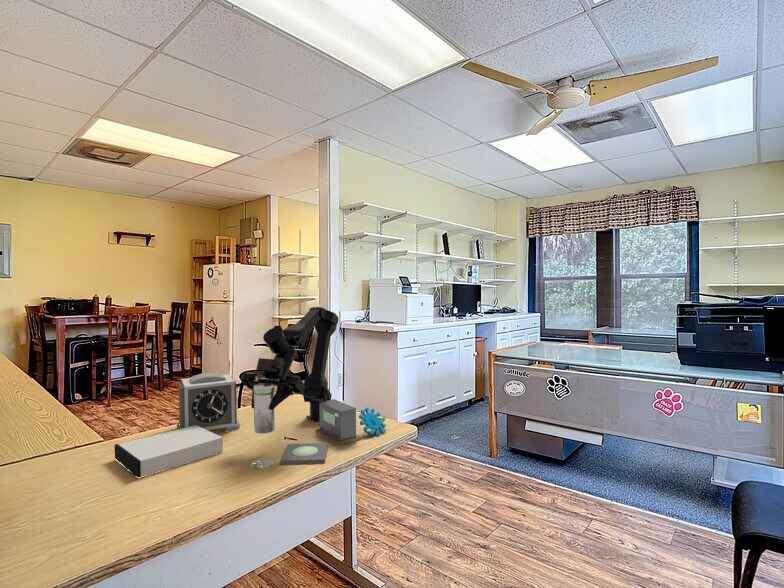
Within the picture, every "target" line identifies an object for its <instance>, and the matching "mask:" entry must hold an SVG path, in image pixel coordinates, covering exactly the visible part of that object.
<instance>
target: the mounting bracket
mask: <svg viewBox="0 0 784 588" xmlns="http://www.w3.org/2000/svg"><path fill="white" fill-rule="evenodd" d="M256 460H257V461H255V460H254V461H255V462H254V463H256V464H250V466H249V468H250V469H252V470H253V468H254V469H261V468H260V466H261V465H262V466H261V467H263V468H264V467H266V468H268V467H270V466H272V465H275V464H276V462H275V461H273V460H270V459H267V458H264V457H260V458H258V459H256ZM258 461H260V462H258ZM260 463H261V464H260ZM255 465H258V466H255ZM263 468H262V470H264V469H265V468H264V469H263Z"/></svg>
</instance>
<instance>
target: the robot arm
mask: <svg viewBox="0 0 784 588" xmlns="http://www.w3.org/2000/svg"><path fill="white" fill-rule="evenodd" d="M338 324H339V316H338V315H337V314H336V312H333V311H330V310H327V309H326V308H325V307H323V306H311V307H310V308H309V310H308V312H307V313H305V314H304V316H302V317H301V319H299V321H297V322H296V323H295V324H293V325H292V324H291V325H289V326H287V327H285V328H284V329H283V327H282V325H274V326H273V328H269V330H267V331H266V332H265V333H264V334H263V337H262V339H263V341H264V342H265V344H266V346H267V347H268V348H269V350H270V351H271V352H272V354H274V357H273V358H261V357H260V358H258V359H257V365H256V368H255V370H257V371H260V372H261V375H262V376H264V377H260V376H259V375H258V373H256V372H244V373H243V374H242V376H241V378H240V380H241V382H242V383H243V384H244V385H245V386H246V388H247V389H249V390H251V391H252V393H251V406H250V407H251V408H252V409H254V389H253V388H254V385H255V384H259V383H273V384H274V387H276V392H274V398H273V400H272V402H271V405H270V410H273V409H274V410H275V408H277V406H279V405H280V404H281V403H282V402H284V401H285V400H286V399H287V398H288V397H291V396H293V395H294V394H302V396H303V402H304V403H309V415H306V416H305V417H306V419H307V420H310V421H312V422H320V402H323V401H328V400H332V393H331V391H330V390H329V388H328V386H329V385H328V384H329V383H328V381H327V378H326V376H325V374H326V370H327V369H326V368H327V363H328V362H327V361H328V356H329V350H330V349H329V348H330V341H331V337H332V336H333V334H334V333H335V332H336V330H337V327H338ZM313 328H314V329H315V331H316V334H317V337H316V342H315V349H314V352H313V353H314V354H313V359H312V360H313V361H312V365H311V366H312V367H311V371H310V374H309V375H308V376H305V377H304V382H303V380H302V379H301V377H300V376H299V375H291V373H292V370H291V367H292V365H293V362H294V360H298V359H299V355H298V351H297V350H296V349H295V347H296V348H302V347H304V345H305V343H306V342H307V340H308V333H310V331H312V330H313Z"/></svg>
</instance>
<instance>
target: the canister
mask: <svg viewBox="0 0 784 588" xmlns="http://www.w3.org/2000/svg"><path fill="white" fill-rule="evenodd" d="M253 389H254V408H253V424H254V425H253V426H254V427H253V430H254V433H255V434H269V433H272V432H274V431H275V425H276V424H275V408H274V409H273V410H270V405H271V402H272V400H273V398H274V395H275V386H274V384H273V383H259V384H255V385H254V388H253Z"/></svg>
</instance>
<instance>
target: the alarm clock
mask: <svg viewBox="0 0 784 588" xmlns="http://www.w3.org/2000/svg"><path fill="white" fill-rule="evenodd" d="M237 398H238V397H237V381H236V380H235V379H234V378H233V377H232V376H231V375H229V374H228V373H226V374H222V373H218V372H202V373H200V374H196V375H193V376H191V377H188V378H187V377H186V378H181V382H178V414H179V416H178V419H179V421H178V422H177V423H176V430H178V429H182V428H186V427H190V426H194V425H197V426H199V427H201V428H203V429H206V430H208V431H210V430H218V429H222V428H223V429H224V428H225V429H224V430H226V431H228V432H233V431H232V430H234V431H239V430H240V429H239V428H241V423H240V422H239V421H238V415H237V414H238V413H237V412H238V411H237V410H238V408H237V407H238V406H237V405H238V404H237V403H238V402H237V401H238V400H237ZM179 424H180V425H179ZM238 429H239V430H238ZM226 431H225V432H226Z"/></svg>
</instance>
